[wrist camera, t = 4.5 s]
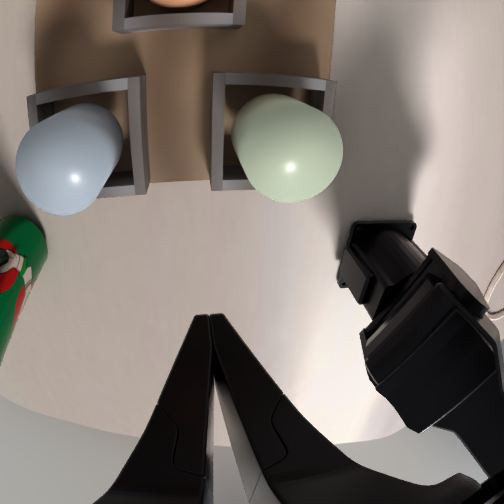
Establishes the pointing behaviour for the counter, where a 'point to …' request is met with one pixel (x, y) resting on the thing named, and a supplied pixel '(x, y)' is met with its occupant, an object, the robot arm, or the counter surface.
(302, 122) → the sage button
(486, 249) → the counter surface
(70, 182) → the slate-blue button
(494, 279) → the hand towel holder
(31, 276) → the soda can
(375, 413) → the counter surface
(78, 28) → the walnut button board
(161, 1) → the terracotta button
